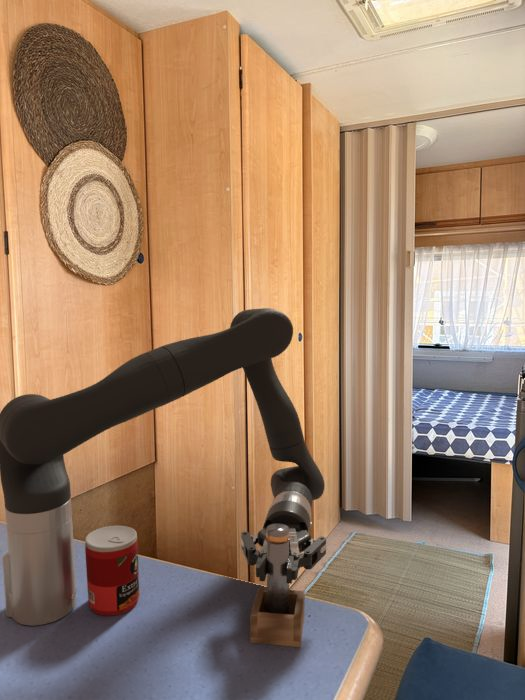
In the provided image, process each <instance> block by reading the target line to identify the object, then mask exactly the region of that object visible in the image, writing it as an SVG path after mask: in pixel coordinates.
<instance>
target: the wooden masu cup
mask: <svg viewBox="0 0 525 700" xmlns="http://www.w3.org/2000/svg"><path fill="white" fill-rule="evenodd" d="M305 592H306V591H305V590H293V589H289V615H288V614H276V613H267V587H257V591H256V595H255V598H254V601H253V604H252V608H251V613H250V615H249V616H250V617H249V619H250V621H249V622H250V624H249V625H250V630H249V631H250V643H253V644H263V645H274V646H283V647H284V646H285V647H294V648H302V642H303V641H302V640H303V632H304V623H305V616H306V615H305V614H306V613H305V612H306V611H305V609H306V608H305V607H306V606H305V602H306V601H305V600H306V599H305Z"/></svg>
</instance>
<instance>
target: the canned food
mask: <svg viewBox="0 0 525 700" xmlns="http://www.w3.org/2000/svg"><path fill="white" fill-rule="evenodd" d="M84 540H85V541H84V542H85V543H84V549H85V550H84V553H85V567H86V571H85V572H86V582H87V583H86V586H87V601H88V605H89V607H90V609H91V611H92V612H94V613H95V614H98V615H101V616H110V617H111V616H118V615H121V614H125V613H126V612H128V611H130V610H132V609H133V608H134V607H135V606H136V605H137V604H138V601H139V599H140V598H139V597H140V573H139V545H138V534H137V531H136V530H135V529H134V528H133V527H129V526H126V525H108V526H103V527H100V528H97V529H95V530H93V531H91V532H89V533H88V534H87V535H86V537H85V539H84Z"/></svg>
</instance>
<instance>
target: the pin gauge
mask: <svg viewBox="0 0 525 700" xmlns="http://www.w3.org/2000/svg"><path fill="white" fill-rule="evenodd" d="M266 540H267V575H266V588H267V613H276V614H288V615H289V590H290V583H287V582H286V571H287V564H288V560H289V527H288V526H286V525H284V524H271V525H269V526H268V527H267V528H266Z"/></svg>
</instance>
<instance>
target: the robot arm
mask: <svg viewBox="0 0 525 700" xmlns="http://www.w3.org/2000/svg"><path fill="white" fill-rule="evenodd" d="M293 336H294V326H293V324H292V321H291V319H290V318H289V316H287V315H286V314H285V313H284V312H282V311H280V310H278V309H275V308H269V307H262V308H250V309H244V310H242V311H240V312H238V313H237V314H235V316H234V317H233V319H232V320H231V323H230V326H229V327H228V328H226V329H224V330H221V331H219V332H215V333H211V334H210V333H209V334H207V335H201V336H196V337H191V338H186V339H182V340H179V341H174V342H171V343H168V344H164V345H162V346H159V347H157V348H154V349H151V350H149V351H146V352H143V353H141V354H139V355H137V356H135V357H133V358H131V359H128V361H125V362H124V363H123V364H121V365H120V366H118V367H117V368H116V369H114V370H113V371H112V372H110V374H108V375H106V376H105V377H104V378H103V379H101V380H99V381H97V382H96V383H94V384H91V385H90V386H88V387H85V388H83V389H79V390H77V391H74V392H71V393H69V394H66V395H61V396H59V397H55V398H52V399H51V398H48V397H46V396H43V395H41V394H35V393H33V394H32V393H27V394H23V395H19V396H17V397H14V398H13V399H11V400H10V401H8V402H7V403H6V405H4V407H3V408H2V410H1V411H0V482H1V488H2V492H3V499H4V500H3V501H4V511H5V525H6V526H5V527H6V538H7V539H6V540H7V552H6V553H5V554H4V555H3V557H2V558H1V559H2V573H3V587H4V598H5V599H4V600H5V602H4V603H5V613H6V614H5V615H6V617H7V618H8V617H9V618H12V619H13V620H14V621H15V622H16V623H18V624H19V625H20V624H21V625H24V626H41V625H46V624H50V623H53V622H55V621H58V620H60V619H62V618H64V617H66V616H67V615H69V614H70V612H71V611H73V610H74V608H75V607H76V605H77V588H76V569H75V568H76V566H75V548H74V547H75V545H74V527H73V515H72V514H73V509H72V496H71V495H72V494H71V483H70V479H69V475H68V472H67V469H66V463H65V457H64V456H65V454H67V453H69V452H71V451H72V450H74V449H75V448H77V447H79V446H81V445H82V444H84V443H86V442H87V441H90V440H92V438H95V437H97V436H98V435H100V434H101V433H103V432H105V431H107V430H109V429H111V428H113V427H116V426H118V425H121V424H123V423H125V422H128V421H131V420H132V419H135V418H138V417H140V416H142V415H144V414H146V413H149V412H151V411H154V410H155V409H158V408H160V407H164V406H165V405H169V404H170V403H172V402H174V401H177V400H179V399H182V398H183V397H185V396H187V395H189V394H191V393H193V392H194V391H197V390H199V389H201V388H203V387H205V386H207V385H209V384H212V383H213V382H215V381H217V380H219V379H221V378H223V377H224V376H226V375H228V374H231V373H233V372H234V371H237V370H240V369H243V372H244V374H245V377H246V378H247V382H248V384H249V387H250V389H251V391H252V395H253V397H254V400H255V402H256V405H257V408H258V411H259V413H260V417H261V420H262V423H263V424H262V425H263V427H264V432H265V436H266V439H267V443H268V446H269V447H268V448H269V451H270V454H271V456H272V458H273V459H274V460H276V461H279V462H285V463H292V464H295V466H290V467H284V468H280V469H277V470H276V471H274V473H273V474H272V475H271V478H270V488H271V489H270V490H271V492H272V496H273V501H272V502H271V504H270V506H269V508H268V511H267V514H266V517H265V520H264V523H263V525H262V529H261V530H259V531H258V532H257V534H255V535H252V534H250V532H249V531H242V532H241V535H240V537H241V541H240V542H241V550H242V554H243V556H244V557H245V560H246V562H247V564H248V565H249V566H255V576H256V578H258V579H259V582H265V581H266V579H267V540H266V528H267V527H268V526H269V525H271V524H284V525H286V526H288V527H289V560H288V564H287V571H286V582H287V583H289V585H290V584H292V583H293V581H296V580H298V577H299V571H300V568H304V570H307V571H308V570H312V569H313V568H314V567H315V566H316V565H317V563H319V562H320V561H321V560H322V559H323V558H324V557H325V555H326V554H327V537H326V536H323V535H322V536H319V537H317V538H312V536H311V534H310V533H311V532H310V531H311V527H312V506H313V501H316V500H318V499H320V498H321V497H322V496H323V494H324V491H325V485H326V484H325V480H324V477H323V474H322V472H321V470H320V468H319V467H318V465H317V464H316V462H315V460H314V458H313V457H312V455H311V453H310V451H309V449H308V447H307V444H306V441H305V440H306V439H305V438H304V434H303V433H304V432H303V428H302V426H301V422H300V417H299V415H298V412H297V409H296V407H295V406H294V404H293V402H292V400H291V398H290V397H289V396H290V395H288V393H287V391H286V390H285V388H284V386H283V385H282V383H281V380H280V379H279V377H278V374H277V372H276V370H275V367H274V364H273V363H274V362H273V360H272V359H273V358H276V357H279V356H280V355H282V353H284V352H285V351H286V350H287V349H288V347H289V346H290V344H291V342H292V339H293ZM296 465H297V466H296ZM256 545H258V546H259V547H260V549H259V550H258V549H257V546H256Z"/></svg>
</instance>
